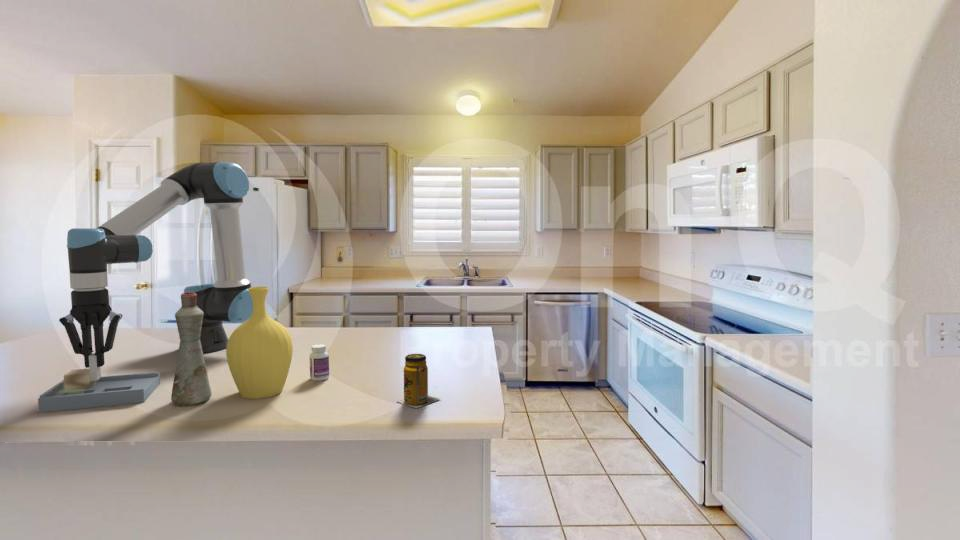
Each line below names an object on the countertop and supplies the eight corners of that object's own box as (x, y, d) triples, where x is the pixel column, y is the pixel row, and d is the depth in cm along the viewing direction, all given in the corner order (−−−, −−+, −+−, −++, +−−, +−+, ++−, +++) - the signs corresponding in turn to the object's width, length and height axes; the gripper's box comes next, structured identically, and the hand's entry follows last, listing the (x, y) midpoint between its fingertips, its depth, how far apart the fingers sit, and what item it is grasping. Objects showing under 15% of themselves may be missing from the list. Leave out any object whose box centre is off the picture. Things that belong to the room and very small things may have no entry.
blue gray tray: (159, 383, 137) (159, 370, 136) (144, 402, 123) (143, 387, 122) (66, 392, 129) (65, 378, 129) (39, 412, 115) (37, 397, 115)
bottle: (183, 410, 118) (178, 294, 115) (164, 403, 123) (158, 291, 120) (219, 399, 125) (214, 290, 122) (199, 393, 130) (194, 288, 127)
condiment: (396, 402, 125) (396, 356, 124) (421, 393, 131) (421, 349, 130) (416, 409, 120) (416, 361, 119) (440, 400, 127) (440, 354, 126)
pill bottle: (333, 376, 145) (332, 344, 144) (321, 382, 140) (321, 348, 139) (317, 374, 147) (317, 342, 146) (306, 380, 142) (305, 347, 141)
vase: (279, 378, 143) (276, 282, 140) (304, 392, 131) (301, 288, 129) (219, 391, 131) (215, 287, 129) (240, 407, 120) (236, 294, 117)
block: (96, 382, 130) (95, 368, 129) (88, 388, 125) (87, 373, 125) (73, 384, 128) (72, 369, 128) (64, 391, 123) (63, 375, 123)
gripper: (124, 286, 131) (129, 372, 133) (64, 288, 127) (71, 377, 129) (115, 289, 124) (120, 380, 126) (51, 291, 120) (58, 386, 122)
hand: (95, 379), depth 128 cm, fingers closed
